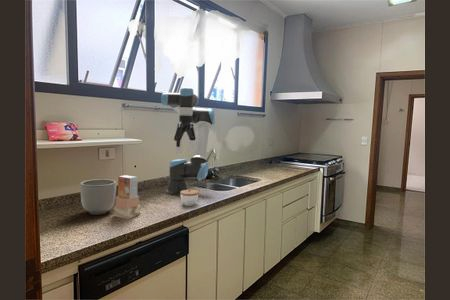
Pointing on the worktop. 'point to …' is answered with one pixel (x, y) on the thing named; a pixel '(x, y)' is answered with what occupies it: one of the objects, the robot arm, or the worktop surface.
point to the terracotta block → (127, 202)
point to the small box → (127, 186)
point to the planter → (98, 195)
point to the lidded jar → (189, 197)
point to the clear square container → (127, 212)
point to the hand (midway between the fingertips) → (185, 151)
